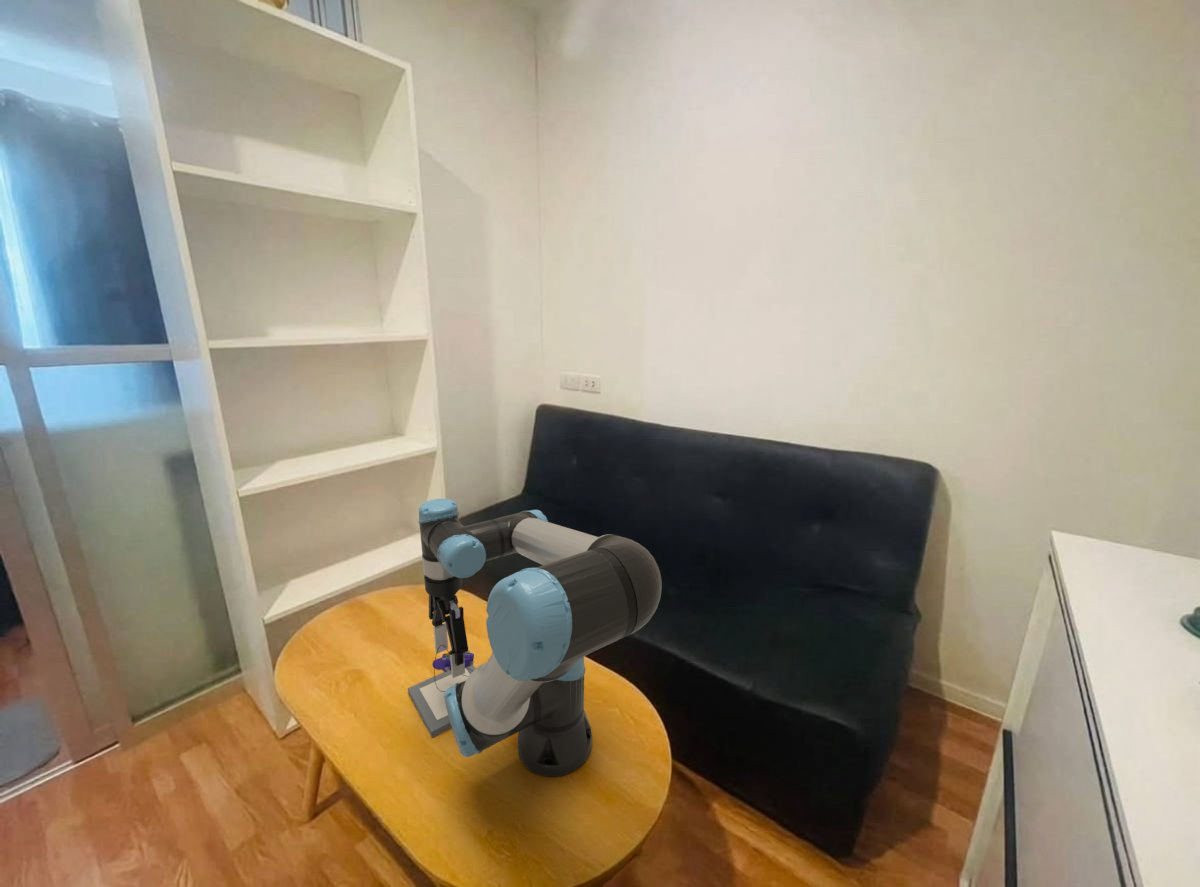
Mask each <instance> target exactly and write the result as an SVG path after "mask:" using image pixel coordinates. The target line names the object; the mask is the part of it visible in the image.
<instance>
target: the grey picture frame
mask: <svg viewBox="0 0 1200 887" xmlns="http://www.w3.org/2000/svg"><path fill="white" fill-rule="evenodd" d="M467 668H469V669H470V670H469V669H467ZM467 668H465V673H464V674H462V675H460V676H457V677H455V678H453V677H452V672H451V670H450V671H447V672H444V671H442V672H441V673H439V674H437V675H436V674H435V679H434V676H432V677H429V678H427V679H425V680H423V681H421V682H418V683H417V684H414V685H411V686H409V687H408V688H407V693H408V696H409V698H410V699H411V701H412V703H413V705H414V707H415V709H416V711H417V712H418V714H419V716H420V718H421V721H422V722H423V723H424V726H425V727H426V730H427V731H428V733H429V735H430V737H431V738H432V739H433V738H434V737H437V736H439V735H440V734H443V733H444V732H446V731H448V730H449V729H452V727H451V724H450V720H449V716H448V713H447V709H446V704H445V699H444V694H445V692H441V691H446V690H447V689H448V688H450V687H452V686H453V685H454V684H456V683H461V682H463V681H466V680H467V678H468V676H469V675H470V674H471V673H472V672H473V671H474V670H475V669H476V668H477V667H475V665H474V664H473V665H472V666H469V667H467ZM471 670H472V671H471ZM464 675H466V676H464ZM435 682H436V684H435ZM436 685H437V687H436ZM437 688H438V689H439V690H440V691H439V690H438V689H437Z"/></svg>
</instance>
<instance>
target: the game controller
mask: <svg viewBox="0 0 1200 887" xmlns="http://www.w3.org/2000/svg"><path fill="white" fill-rule="evenodd" d="M441 646H444V645H441ZM439 647H440V646H439ZM444 647H445V646H444ZM445 648H446V647H445ZM438 649H439V648H438ZM437 651H438V650H437ZM446 651H447V653H443V654H442V655H441V657H440V658H439V657H438V658H437V655H438V654H437V653H436V652H435V657H434V660H433V661H432V664H431V665H432V668H433V677H434V679H435V676H436V674H435V673H436V672H435V671H436V670H437V671H442V672H447V671H450V670H451V659H450V655H449V653H448V652H449V649H447V650H446ZM474 658H475V654H474V653H473V652H471V650H468V651H467V652H465V653H464V661H465V668H467V667H469V666H472V665H473V666H474ZM467 669H469V668H467ZM469 670H470V669H469ZM471 671H472V670H471ZM464 676H466V675H464ZM468 677H469V676H468ZM435 684H436V682H435ZM453 686H454V685H453ZM436 687H437V685H436ZM437 689H438V688H437ZM438 690H439V689H438ZM439 691H440V690H439ZM441 692H445V691H441Z"/></svg>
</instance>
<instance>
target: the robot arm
mask: <svg viewBox="0 0 1200 887" xmlns="http://www.w3.org/2000/svg"><path fill="white" fill-rule="evenodd" d="M459 514H460V513H459V509H458V505H457V502H456V501H455V500H452V499H449V498H436V499H435V498H434V499H431V500H430V499H429V500H427V501H425V502H423V503H422V504H421V505H420V506H419V508H418V521H417V522H418V524H419V534H420V545H421V552H422V553H421V554H422V555H421V558H422V559H421V560H422V571H423V578H424V579H423V580H424V587H425V589H424V590H425V592H426V593H427V594H428V619H429V620H431V625H432V626H433V637H434V649H435V654H436V653H437V655H438V654H440V653H442V652H445V651H447V650H449V645H450V648H451V649H450V650H449V651H447V653H449V655H450V659H451V672H452V677H453V678H455V677H457V676H460V675H462V674H464V673H465V661H464V653H465V652H467V651H469V646H468V638H467V631H466V624H465V618H464V617H465V616H464V614H465V613H464V610H465V609H464V607H463V606H459V605H458V604H459V600H458V597H457V593H458V592H459V591H460V590H461V589H462V587H463V579H466V578H470V577H472V576H474V575H475V574H476V573H477V572H479V571H480V570H481V569H482V568H483V566H484V565H485V562H487V561H491V560H495V559H499V558H502V557H505V556H509V555H512V554H518V555H521V556H523V557H525V558H527V559H528V560H531V561H533V562H535V563H538V564H540V565H539V566H537V567H527V568H523V569H520V570H519V571H517V572H514V573H512V574H510V575H508V576H505V577H504V578H502V579H501V580H499V581H498V582H497V583H496V584H495V585H494V586H493V587H492V589H491V591H490V592H489V593H490V594H489V596H488V599H487V603H486V610H485V611H486V614H487V617H486V619H485V621H486V622H485V624H486V626H485V627H486V631H487V638H488V641H489V645H490V648H491V651H492V653H491V655H490V656H489V658H488V660H487V661H486V662H484V663H481V664H480V665H479V666H477V667H475V668H476V669H475V670H474V671H473V672H472V673H471V674H470V675H469V677H468V678H467V680H466V681H463V682H461V683H456V684H454V686H452V687H450V688H448V689H447V690H446V691H445V694H444V699H445V704H446V709H447V713H448V716H449V720H450V724H451V727H452V728H451V730H452V733H453V735H454V739H455V743H456V746H457V747H458V751H459V753H460V754H461V756H463V757H465V758H469V757H472V756H475V755H477V754H478V755H480V754H482V752H483V751H485V750H486V749H489V748H491V747H492V746H494V745H496V744H498V743H500V742H502V741H504V740H506V739H508V738H509V737H512V736H513V735H515V734H518V735H517V753H518V756H519V757H518V758H520V761H521V762H522V764H523V765H524V766H525V767H526V768H527V769H528V770H529V771H531V772H532V773H534V774H536V775H538V776H543V777H548V778H549V777H551V778H552V777H553V778H556V777H562V776H566V775H568V774H572V773H573V772H575V771H576V770H578V769H579V768H580V767H582V766H583V765H584V763H585V762H586V761H587V759H588V758H589V756H590V754H591V751H592V747H593V746H592V744H593V732H592V727H591V724H590V722H589V719H588V717H587V714H586V711H585V675H586V666H585V657H586V656H588V655H589V654H591V653H594V652H595V651H598V650H599V649H602V648H604V647H606V646H608V645H611V644H613V643H615V642H617V641H619V640H621V639H623V638H625V637H628V636H630V635H632V634H634V633H636V632H638V631H639V630H640V629H642V628H643V627H644V626H645V625H647V623H649V622H650V620H651V619H652V617H653V616H654V614H655V613H656V612H657V611H656V610H657V609H658V606H659V603H660V601H661V595H662V590H663V588H662V587H663V586H662V583H663V582H662V576H661V571H660V569H659V568H660V567H659V566H658V563H657V562H656V559H655V557H654V556H653V555H652V554H651V553H650V551H649V550H648V549H647V548H646V547H644V546H643V545H642V544H640V543H638V542H637V541H635V540H633V539H630V538H627V537H623V536H621V535H618V534H611V533H609V534H603V535H601V536H596V535H592V534H589V533H587V532H582V531H579V530H576V529H574V528H573V529H572V528H570V527H566V526H562V525H559V524H555V523H554V522H553V523H552V522H549V520H548V518H547V516H546V515H545V514H544V512H542V511H541V510H539V509H530V510H522V511H520V512H517V513H513V514H509V515H505V516H501V517H497V518H494V519H489V520H486V521H481V522H476V523H473V524H468V525H463V523H462V522H461V521H460V519H459V516H460V515H459ZM448 640H449V642H448ZM449 643H450V644H449ZM441 645H444V646H445V647H446V648H445V647H444V646H441ZM439 646H440V647H439ZM438 648H439V649H438ZM437 650H438V651H437Z"/></svg>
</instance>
